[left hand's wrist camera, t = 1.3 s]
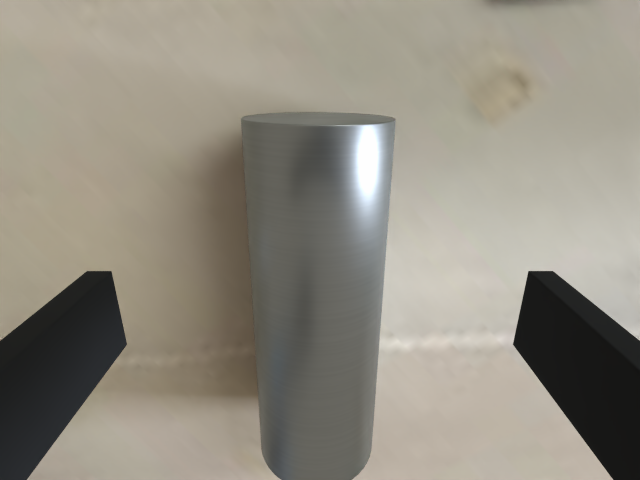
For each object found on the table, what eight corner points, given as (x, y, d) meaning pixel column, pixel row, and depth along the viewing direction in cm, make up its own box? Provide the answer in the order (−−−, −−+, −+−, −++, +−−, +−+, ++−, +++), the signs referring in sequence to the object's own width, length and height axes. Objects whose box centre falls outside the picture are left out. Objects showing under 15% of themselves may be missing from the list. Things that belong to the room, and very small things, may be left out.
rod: (254, 111, 26) (224, 123, 18) (383, 112, 26) (410, 125, 18) (268, 397, 34) (252, 490, 26) (365, 399, 34) (378, 491, 26)
